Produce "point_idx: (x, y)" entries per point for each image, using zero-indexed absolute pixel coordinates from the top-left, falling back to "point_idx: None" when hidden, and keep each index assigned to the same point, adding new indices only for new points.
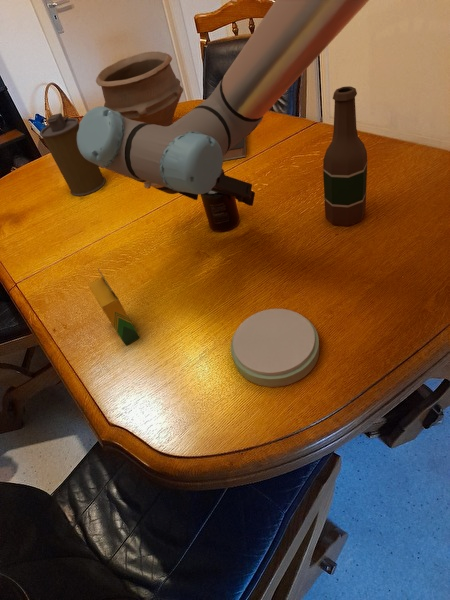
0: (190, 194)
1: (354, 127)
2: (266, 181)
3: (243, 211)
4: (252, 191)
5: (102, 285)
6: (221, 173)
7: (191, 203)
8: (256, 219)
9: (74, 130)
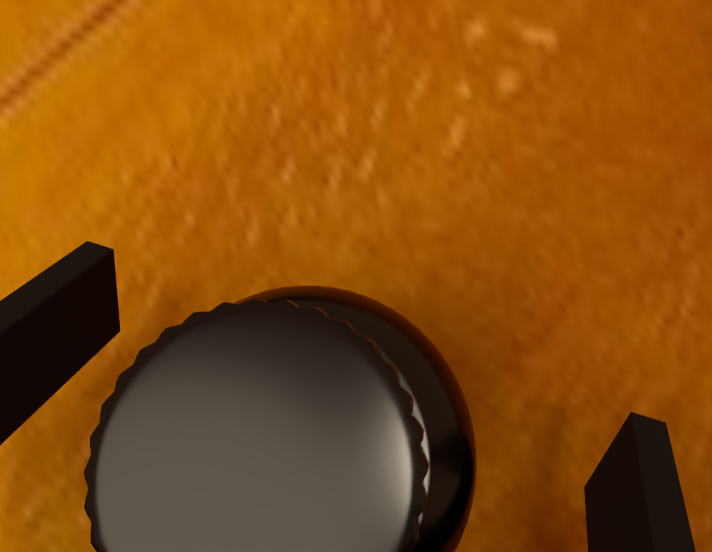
0: (43, 383)
1: None
2: (539, 2)
3: (449, 314)
4: (673, 466)
5: None
6: (410, 532)
7: (87, 183)
8: (557, 419)
9: None
